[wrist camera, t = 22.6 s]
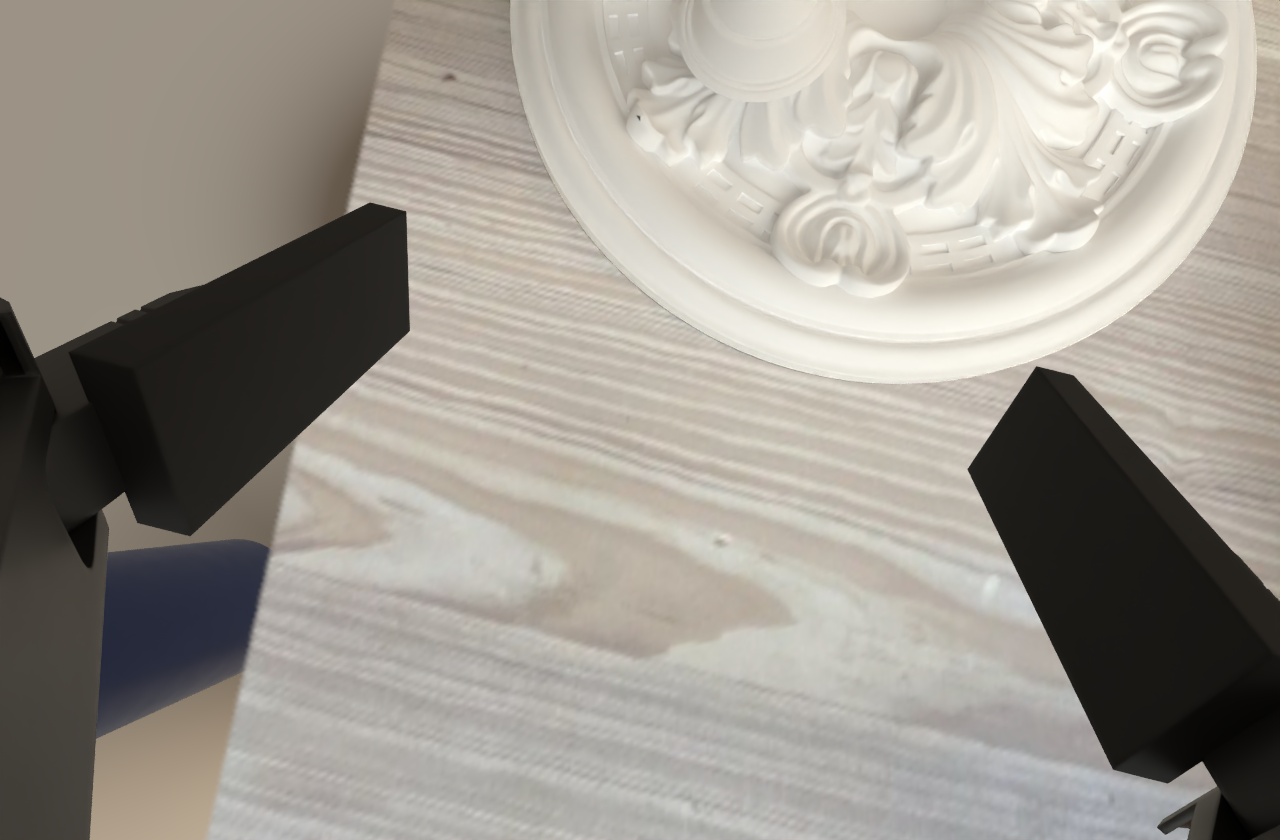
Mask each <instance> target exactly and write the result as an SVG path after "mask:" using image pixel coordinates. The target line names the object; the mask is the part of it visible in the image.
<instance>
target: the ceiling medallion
mask: <svg viewBox="0 0 1280 840" xmlns="http://www.w3.org/2000/svg"><path fill="white" fill-rule="evenodd" d="M681 2H682V0H510V35H511V47H512V55H513V62H514V68H515V74H516V79H517V84H518V88H519V92H520V96H521V100H522V104H523V107H524V111H525V115H526V118H527V122H528V125H529V128H530V131H531V134H532V136H533V139H534V142H535V144H536V147H537V149H538V152H539V154H540V157H541V159H542V161H543V163H544V165H545V168H546V170H547V172H548V174H549V176H550V177H551V179H552V181H553V183H554V185H555V187H556V189H557V190H558V192H559V194H560V196H561V197H562V199H563V201H564V202H565V204H566V205H567V207H568V208H569V210H570V211H571V213H572V214H573V216H574V217H575V219H576V220H577V221H578V223H579V224H580V226H581V227H582V228H583V230H584V231H585V232H586V233H587V235H588V236H589V237H590V238H591V240H592V241H593V242H594V243H595V245H596V246H597V247H598V248H599V249H600V250H601V251H602V252H603V254H604V255H605V256H606V257H607V258H608V259H609V260H610V261H611V262H612V263H613V264H614V265H615V266H616V267H617V268H618V269H619V270H620V271H621V272H622V273H623V274H624V275H625V276H626V277H627V278H628V279H629V280H630V281H631V282H633V283H634V284H635V285H636V286H637V287H638V288H640V289H641V290H642V291H643V292H644V293H645V294H647V295H648V296H649V297H651V298H652V299H653V300H654V301H656V302H657V303H658V304H660V305H661V306H662V307H664V308H665V309H667V310H668V311H669V312H671V313H672V314H674V315H675V316H677V317H678V318H680V319H681V320H683V321H685V322H686V323H688V324H689V325H691V326H693V327H694V328H696V329H698V330H699V331H701V332H703V333H705V334H706V335H708V336H710V337H712V338H714V339H716V340H718V341H720V342H722V343H724V344H726V345H728V346H731V347H733V348H735V349H737V350H739V351H742V352H744V353H747V354H749V355H751V356H754V357H756V358H759V359H762V360H765V361H768V362H771V363H773V364H776V365H780V366H783V367H786V368H790V369H793V370H797V371H801V372H805V373H809V374H813V375H818V376H823V377H828V378H834V379H840V380H847V381H855V382H865V383H880V384H920V383H934V382H944V381H952V380H959V379H965V378H970V377H976V376H980V375H985V374H989V373H993V372H997V371H1001V370H1004V369H1008V368H1011V367H1014V366H1017V365H1020V364H1023V363H1026V362H1029V361H1032V360H1035V359H1038V358H1041V357H1044V356H1046V355H1049V354H1051V353H1054V352H1056V351H1059V350H1061V349H1063V348H1065V347H1068V346H1070V345H1072V344H1074V343H1076V342H1078V341H1080V340H1082V339H1084V338H1086V337H1088V336H1090V335H1092V334H1094V333H1095V332H1097V331H1099V330H1100V329H1102V328H1104V327H1105V326H1107V325H1109V324H1110V323H1112V322H1113V321H1115V320H1116V319H1118V318H1119V317H1121V316H1122V315H1124V314H1125V313H1127V312H1128V311H1129V310H1131V309H1132V308H1133V307H1135V306H1136V305H1137V304H1139V303H1140V302H1141V301H1142V300H1143V299H1145V298H1146V297H1147V296H1148V295H1149V294H1151V293H1152V292H1153V291H1154V290H1155V289H1156V288H1157V287H1158V286H1159V285H1160V284H1161V283H1163V282H1164V281H1165V280H1166V279H1167V278H1168V276H1169V275H1170V274H1171V273H1172V272H1173V271H1174V270H1175V269H1176V268H1177V267H1178V266H1179V265H1180V264H1181V262H1182V261H1183V260H1184V259H1185V258H1186V257H1187V255H1188V254H1189V253H1190V252H1191V250H1192V249H1193V248H1194V247H1195V245H1196V244H1197V243H1198V241H1199V240H1200V238H1201V237H1202V236H1203V234H1204V233H1205V231H1206V230H1207V228H1208V227H1209V225H1210V224H1211V222H1212V220H1213V219H1214V217H1215V215H1216V214H1217V212H1218V210H1219V208H1220V206H1221V205H1222V203H1223V201H1224V199H1225V197H1226V195H1227V193H1228V191H1229V188H1230V186H1231V184H1232V182H1233V179H1234V177H1235V174H1236V172H1237V169H1238V167H1239V164H1240V161H1241V158H1242V155H1243V152H1244V148H1245V145H1246V141H1247V138H1248V133H1249V129H1250V125H1251V120H1252V114H1253V108H1254V101H1255V93H1256V79H1257V43H1256V31H1255V22H1254V15H1253V9H1252V3H1251V0H845V6H846V24H845V30H844V35H843V38H842V41H841V44H840V47H839V49H838V51H837V53H836V55H835V57H834V58H833V60H832V61H831V63H830V64H829V66H828V67H827V68H826V69H825V71H824V72H823V73H822V74H821V75H820V76H819V77H818V78H817V79H815V80H814V81H813V82H812V83H811V84H809V85H808V86H806V87H805V88H803V89H802V90H800V91H798V92H796V93H794V94H792V95H790V96H787V97H784V98H781V99H778V100H773V101H768V102H742V101H737V100H733V99H729V98H726V97H724V96H722V95H719V94H717V93H715V92H714V91H712V90H710V89H709V88H708V87H706V86H705V85H704V84H702V83H701V82H700V81H699V80H698V79H697V78H696V77H695V75H694V74H693V73H692V72H691V70H690V69H689V67H688V66H687V64H686V62H685V60H684V58H683V56H682V53H681V50H680V46H679V42H678V34H677V21H678V14H679V9H680V5H681Z"/></svg>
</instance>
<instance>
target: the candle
mask: <svg viewBox="0 0 1280 840" xmlns="http://www.w3.org/2000/svg"><path fill="white" fill-rule="evenodd" d="M845 24H846V6H845V0H682V2H681V5H680V9H679V14H678V21H677V34H678V42H679V46H680V50H681V53H682V56H683V58H684V60H685V62H686V64H687V66H688V67H689V69H690V70H691V72H692V73H693V74H694V75H695V77H696V78H697V79H698V80H699V81H700V82H701V83H702V84H704V85H705V86H706V87H708V88H709V89H710V90H712V91H714V92H715V93H717V94H719V95H722V96H724V97H726V98H729V99H733V100H737V101H742V102H768V101H773V100H778V99H781V98H784V97H787V96H790V95H792V94H794V93H796V92H798V91H800V90H802V89H803V88H805V87H806V86H808V85H809V84H811V83H812V82H813V81H814V80H815V79H817V78H818V77H819V76H820V75H821V74H822V73H823V72H824V71H825V69H826V68H827V67H828V66H829V64H830V63H831V61H832V60H833V58H834V57H835V55H836V53H837V51H838V49H839V47H840V44H841V41H842V38H843V35H844V30H845Z"/></svg>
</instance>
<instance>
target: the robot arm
mask: <svg viewBox="0 0 1280 840" xmlns="http://www.w3.org/2000/svg"><path fill="white" fill-rule="evenodd" d="M409 331H410V321H409V287H408V254H407V220H406V211H402V210H398V209H394V208H390V207H386V206H382V205H378V204H374V203H368V204H366V205H364V206H362V207H360V208H358V209H356V210H354V211H352V212H350V213H348V214H346V215H344V216H342V217H340V218H338V219H336V220H334V221H332V222H330V223H328V224H326V225H324V226H322V227H320V228H318V229H316V230H314V231H312V232H310V233H308V234H306V235H303V236H301V237H300V238H297V239H296V240H293V241H292V242H289V243H287V244H285V245H283V246H281V247H279V248H277V249H275V250H273V251H271V252H269V253H267V254H265V255H263V256H261V257H259V258H258V259H255V260H253V261H251V262H249V263H247V264H245V265H243V266H241V267H239V268H237V269H235V270H233V271H231V272H229V273H227V274H225V275H223V276H221V277H219V278H217V279H215V280H213V281H211V282H209V283H207V284H205V285H202V286H197V287H193V288H189V289H185V290H181V291H176V292H172V293H169V294H167V295H165V296H163V297H161V298H158V299H156V300H154V301H152V302H150V303H148V304H146V305H144V306H142V307H141V310H140V311H139V310H134V311H131V312H129V313H127V314H125V315H123V316H121V317H119V318H117V322H116V323H115V322H109V323H107V324H104V325H102V326H100V327H98V328H96V329H94V330H92V331H90V332H88V333H86V334H84V335H82V336H80V337H77V338H75V339H73V340H71V341H69V342H67V343H65V344H63V345H61V346H59V347H57V348H55V349H53V350H50V351H48V352H46V353H44V354H42V355H40V356H38V357H36V358H34V357H33V354H32V352H31V350H30V348H29V345H28V343H27V341H26V339H25V336H24V334H23V332H22V330H21V327H20V325H19V323H18V321H17V319H16V316H15V314H14V312H13V310H12V307H11V305H10V303H9V302H8V301H6V300H4V299H2V298H0V840H89V838H90V823H91V807H92V790H93V775H94V759H95V743H96V727H97V711H98V695H99V679H100V664H101V648H102V632H103V616H104V600H105V584H106V568H107V551H108V536H109V527H108V524H107V522H106V518H105V516H104V513H103V511H102V508H104V507H105V506H106V505H108V504H109V503H110V502H112V501H113V500H114V499H116V498H117V497H118V496H120V495H121V494H122V493H123V492H125V493H126V496H127V498H128V501H129V503H130V506H131V508H132V510H133V513H134V515H135V518H136V520H137V523H140V524H144V525H148V526H152V527H156V528H160V529H164V530H168V531H172V532H176V533H180V534H184V535H188V536H191V535H192V534H193V533H194V532H195V531H196V530H198V528H200V527H201V526H202V525H203V524H204V523H205V522H206V521H207V520H208V519H209V518H210V517H211V516H213V515H214V514H215V513H216V512H217V511H218V510H219V509H220V508H221V507H222V506H223V505H224V504H225V503H226V502H227V501H229V500H230V499H231V498H232V497H233V496H234V495H235V494H236V493H237V492H238V491H239V490H240V489H241V488H242V487H243V486H244V485H245V484H247V483H248V482H249V481H250V480H251V479H252V478H253V477H254V476H255V475H256V474H257V473H258V472H260V471H261V470H262V469H263V468H264V467H265V466H266V465H267V464H268V463H269V462H270V461H271V460H272V459H273V458H274V457H276V456H277V455H278V454H279V453H280V452H281V451H282V450H283V449H284V448H285V447H286V446H287V445H288V444H289V443H291V442H292V441H293V440H294V439H295V438H296V437H297V436H298V435H299V434H300V433H301V432H302V431H303V430H304V429H306V428H307V427H308V426H309V425H310V424H311V423H312V422H313V421H314V420H315V419H316V418H317V417H318V416H319V415H320V414H322V413H323V412H324V411H325V410H326V409H327V408H328V407H329V406H330V405H331V404H332V403H333V402H334V401H335V400H337V399H338V398H339V397H340V396H341V395H342V394H343V393H344V392H345V391H346V390H347V389H348V388H349V387H350V386H352V385H353V384H354V383H355V382H356V381H357V380H358V379H359V378H360V377H361V376H362V375H363V374H364V373H365V372H366V371H368V370H369V369H370V368H371V367H372V366H373V365H374V364H375V363H376V362H377V361H378V360H379V359H380V358H381V357H383V356H384V355H385V354H386V353H387V352H388V351H389V350H390V349H391V348H392V347H393V346H394V345H395V344H396V343H397V342H399V341H400V340H401V339H402V338H403V337H404V336H405V335H406V334H407V333H408V332H409ZM968 471H969V473H970V475H971V478H972V480H973V482H974V484H975V486H976V488H977V490H978V492H979V494H980V496H981V498H982V500H983V502H984V504H985V506H986V508H987V511H988V513H989V515H990V517H991V519H992V521H993V523H994V525H995V527H996V529H997V531H998V533H999V535H1000V537H1001V539H1002V541H1003V544H1004V546H1005V548H1006V550H1007V552H1008V554H1009V556H1010V558H1011V560H1012V562H1013V564H1014V566H1015V568H1016V570H1017V572H1018V574H1019V577H1020V579H1021V581H1022V583H1023V585H1024V587H1025V589H1026V591H1027V593H1028V595H1029V597H1030V599H1031V601H1032V603H1033V605H1034V607H1035V610H1036V612H1037V614H1038V616H1039V618H1040V620H1041V622H1042V624H1043V626H1044V628H1045V630H1046V632H1047V634H1048V636H1049V638H1050V640H1051V643H1052V645H1053V647H1054V649H1055V651H1056V653H1057V655H1058V657H1059V659H1060V661H1061V663H1062V665H1063V667H1064V669H1065V671H1066V673H1067V676H1068V678H1069V680H1070V682H1071V684H1072V686H1073V688H1074V690H1075V692H1076V694H1077V696H1078V698H1079V700H1080V702H1081V704H1082V707H1083V709H1084V711H1085V713H1086V715H1087V717H1088V719H1089V721H1090V723H1091V725H1092V727H1093V729H1094V731H1095V733H1096V735H1097V737H1098V740H1099V742H1100V744H1101V746H1102V748H1103V750H1104V752H1105V754H1106V756H1107V758H1108V760H1109V762H1110V764H1111V766H1112V768H1113V770H1117V771H1121V772H1125V773H1129V774H1132V775H1136V776H1140V777H1144V778H1148V779H1152V780H1156V781H1160V782H1164V783H1169V782H1171V781H1172V780H1174V779H1175V778H1177V777H1179V776H1180V775H1182V774H1183V773H1185V772H1186V771H1188V770H1189V769H1191V768H1192V767H1194V766H1195V765H1197V764H1198V763H1200V762H1201V761H1203V763H1204V765H1205V766H1206V768H1207V769H1208V771H1209V773H1210V774H1211V776H1212V778H1213V779H1214V781H1215V783H1216V784H1217V787H1215V788H1214V789H1212V790H1210V791H1209V792H1207V793H1206V794H1204V795H1202V796H1201V797H1199V798H1197V799H1196V800H1194V801H1192V802H1191V803H1189V804H1187V805H1186V806H1184V807H1183V808H1181V809H1179V810H1178V811H1176V812H1174V813H1173V814H1171V815H1169V816H1168V817H1166V818H1165V819H1163V821H1162V822H1161V823H1160V824H1159V825H1158V826H1157V828H1158V829H1160V830H1161V831H1162V832H1163V833H1164V834H1168V833H1170V832H1171V831H1173V830H1175V829H1176V828H1178V827H1180V828H1189V829H1190V831H1189V835H1188V839H1187V840H1280V601H1279V600H1278V599H1277V598H1276V597H1275V596H1274V595H1273V594H1272V592H1271V591H1270V590H1269V589H1266V587H1265V586H1264V585H1263V583H1262V581H1261V580H1260V579H1259V578H1258V577H1257V576H1256V575H1255V574H1254V573H1253V572H1252V570H1251V569H1250V568H1249V567H1248V566H1247V565H1246V564H1245V563H1244V562H1243V561H1242V559H1241V558H1240V557H1239V556H1238V555H1236V554H1235V553H1234V552H1233V551H1232V550H1231V549H1230V548H1229V547H1228V545H1227V544H1226V543H1225V542H1224V541H1223V540H1222V539H1221V538H1220V537H1219V536H1218V534H1217V533H1216V532H1215V531H1214V530H1213V529H1212V528H1211V527H1210V526H1209V524H1208V523H1207V522H1206V521H1205V520H1204V519H1203V518H1202V517H1201V516H1200V515H1199V513H1198V512H1197V511H1196V510H1195V509H1194V508H1193V507H1192V506H1191V505H1190V503H1189V502H1188V501H1187V500H1186V499H1185V498H1184V497H1183V496H1182V495H1181V494H1180V492H1179V491H1178V490H1177V489H1176V488H1175V487H1174V486H1173V485H1172V484H1171V483H1170V481H1169V480H1168V479H1167V478H1166V477H1165V476H1164V475H1163V474H1162V473H1161V471H1160V470H1159V469H1158V468H1157V467H1156V466H1155V465H1154V464H1153V463H1152V462H1151V460H1150V459H1149V458H1148V457H1147V456H1146V455H1145V454H1144V453H1143V452H1142V450H1141V449H1140V448H1139V447H1138V446H1137V445H1136V444H1135V443H1134V442H1133V441H1132V439H1131V438H1130V437H1129V436H1128V435H1127V434H1126V433H1125V432H1124V431H1123V429H1122V428H1121V427H1120V426H1119V425H1118V424H1117V423H1116V422H1115V421H1114V420H1113V418H1112V417H1111V416H1110V415H1109V414H1108V413H1107V412H1106V411H1105V410H1104V408H1103V407H1102V406H1101V405H1100V404H1099V403H1098V402H1097V401H1096V400H1095V399H1094V397H1093V396H1092V395H1091V394H1090V393H1089V392H1088V391H1087V390H1086V389H1085V388H1084V386H1083V385H1082V384H1081V383H1080V382H1079V381H1078V380H1077V379H1076V378H1075V376H1074V375H1070V374H1065V373H1061V372H1057V371H1053V370H1049V369H1045V368H1041V367H1037V366H1036V368H1035V369H1034V371H1033V372H1032V374H1031V375H1030V377H1029V378H1028V380H1027V381H1026V383H1025V384H1024V386H1023V387H1022V389H1021V390H1020V392H1019V393H1018V395H1017V396H1016V398H1015V399H1014V401H1013V402H1012V404H1011V405H1010V407H1009V408H1008V410H1007V411H1006V413H1005V414H1004V416H1003V417H1002V419H1001V420H1000V422H999V423H998V425H997V426H996V428H995V429H994V430H993V432H992V433H991V435H990V436H989V438H988V439H987V441H986V442H985V444H984V445H983V447H982V448H981V450H980V451H979V453H978V454H977V456H976V457H975V459H974V460H973V462H972V463H971V465H970V466H969V468H968Z"/></svg>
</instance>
